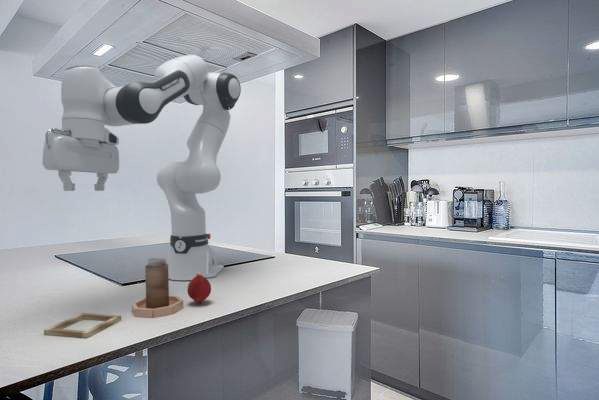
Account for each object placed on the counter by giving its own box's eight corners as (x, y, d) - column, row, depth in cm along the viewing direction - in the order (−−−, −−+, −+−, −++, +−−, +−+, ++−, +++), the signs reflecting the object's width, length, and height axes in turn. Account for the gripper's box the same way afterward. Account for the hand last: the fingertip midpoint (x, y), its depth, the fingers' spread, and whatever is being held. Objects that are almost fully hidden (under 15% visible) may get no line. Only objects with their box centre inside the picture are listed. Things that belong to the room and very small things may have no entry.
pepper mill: (154, 302, 90) (153, 257, 90) (173, 303, 89) (172, 257, 89) (141, 309, 85) (140, 261, 85) (161, 310, 84) (160, 261, 84)
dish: (150, 301, 94) (150, 294, 94) (189, 303, 92) (189, 296, 92) (122, 315, 83) (122, 308, 83) (165, 318, 81) (165, 310, 81)
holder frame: (82, 317, 82) (82, 313, 82) (121, 320, 80) (121, 315, 80) (43, 334, 72) (43, 329, 72) (86, 338, 70) (86, 333, 70)
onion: (213, 299, 95) (212, 269, 94) (208, 306, 89) (208, 275, 89) (191, 300, 94) (190, 270, 94) (184, 307, 89) (184, 275, 88)
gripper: (58, 125, 75) (60, 190, 76) (123, 139, 96) (124, 190, 96) (33, 126, 77) (35, 191, 77) (102, 140, 97) (103, 190, 97)
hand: (85, 190), depth 87 cm, fingers open, 8 cm apart
